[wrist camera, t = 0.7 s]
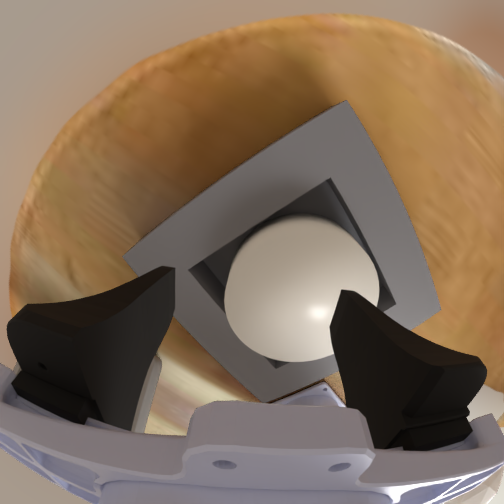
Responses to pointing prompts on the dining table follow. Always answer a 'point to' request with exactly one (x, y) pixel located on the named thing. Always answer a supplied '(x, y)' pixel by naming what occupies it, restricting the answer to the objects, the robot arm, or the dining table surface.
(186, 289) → the button housing
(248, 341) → the button cap
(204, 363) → the dining table surface
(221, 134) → the dining table surface
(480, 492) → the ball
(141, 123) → the dining table surface
